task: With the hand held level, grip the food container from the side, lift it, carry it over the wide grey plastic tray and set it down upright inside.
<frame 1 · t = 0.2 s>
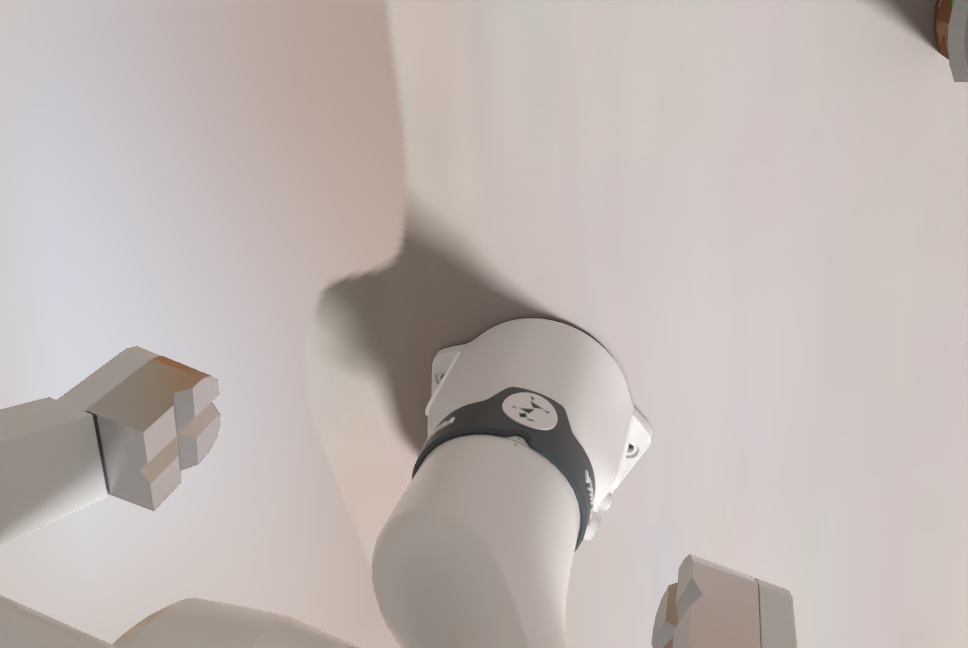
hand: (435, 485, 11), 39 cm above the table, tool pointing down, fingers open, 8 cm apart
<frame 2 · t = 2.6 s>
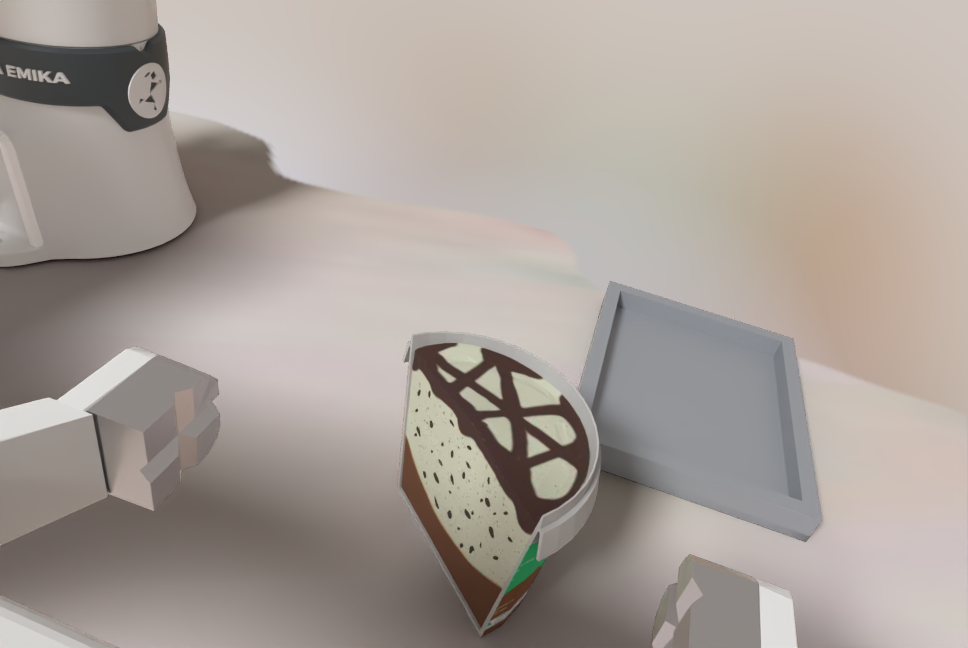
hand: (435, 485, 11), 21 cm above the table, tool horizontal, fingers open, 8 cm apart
tray: (686, 399, 48), on the table
food container: (486, 538, 36), on the table
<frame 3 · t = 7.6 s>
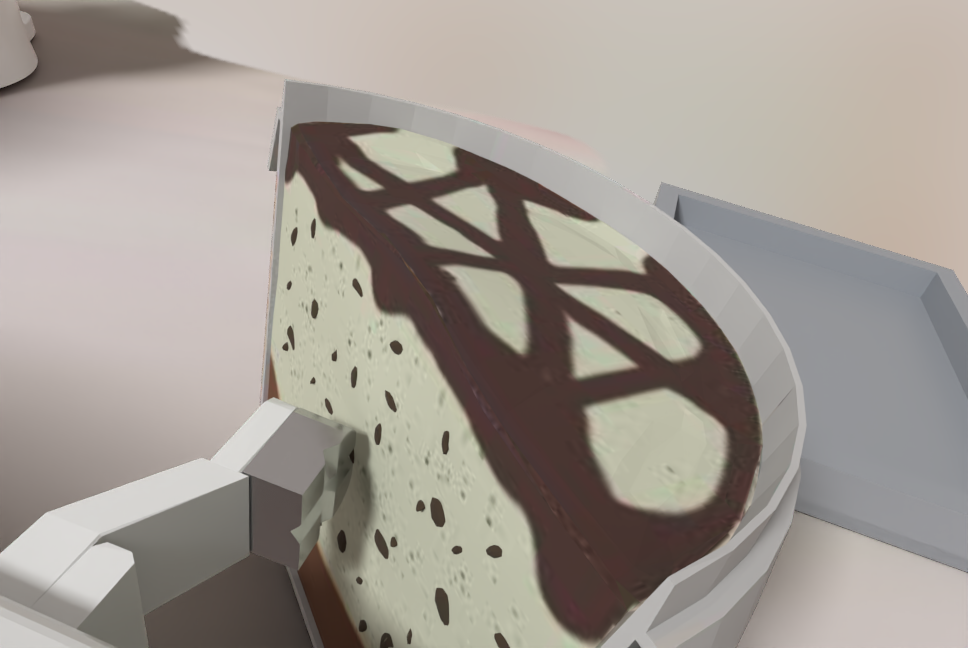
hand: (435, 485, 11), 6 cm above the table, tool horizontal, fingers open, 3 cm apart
tray: (799, 353, 29), on the table
food container: (434, 599, 16), on the table, touching gripper
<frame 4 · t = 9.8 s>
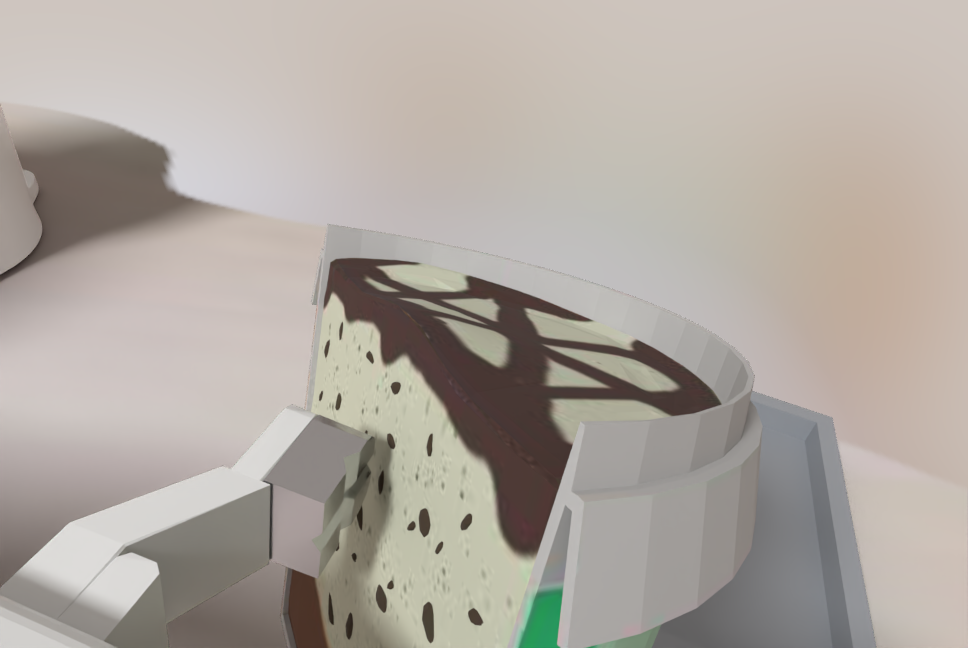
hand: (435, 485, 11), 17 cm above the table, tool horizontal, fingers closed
tray: (685, 513, 34), on the table
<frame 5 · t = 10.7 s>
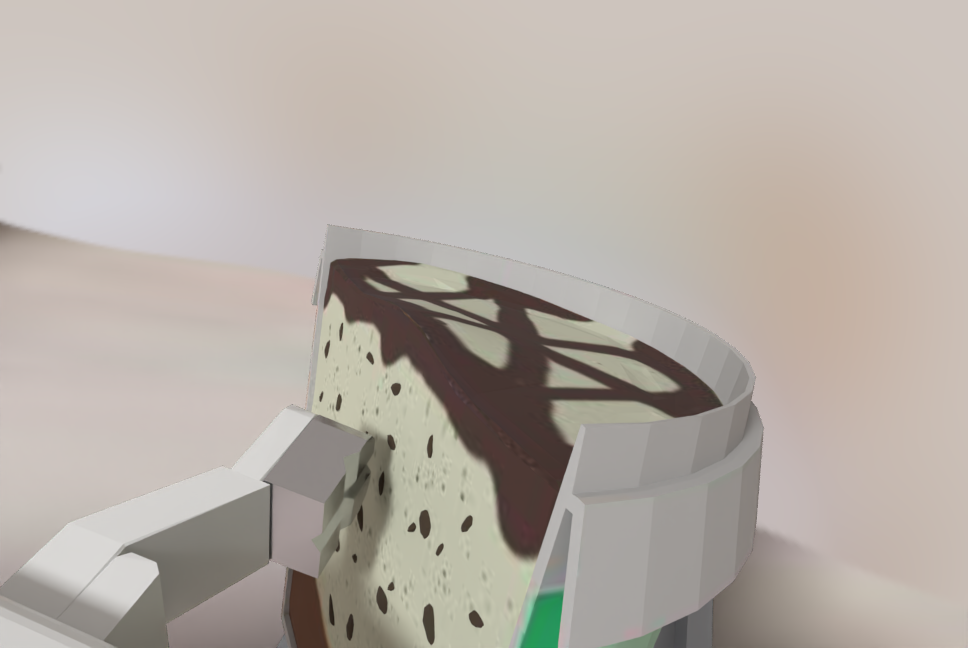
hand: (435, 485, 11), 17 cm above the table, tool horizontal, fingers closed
tray: (511, 627, 28), on the table
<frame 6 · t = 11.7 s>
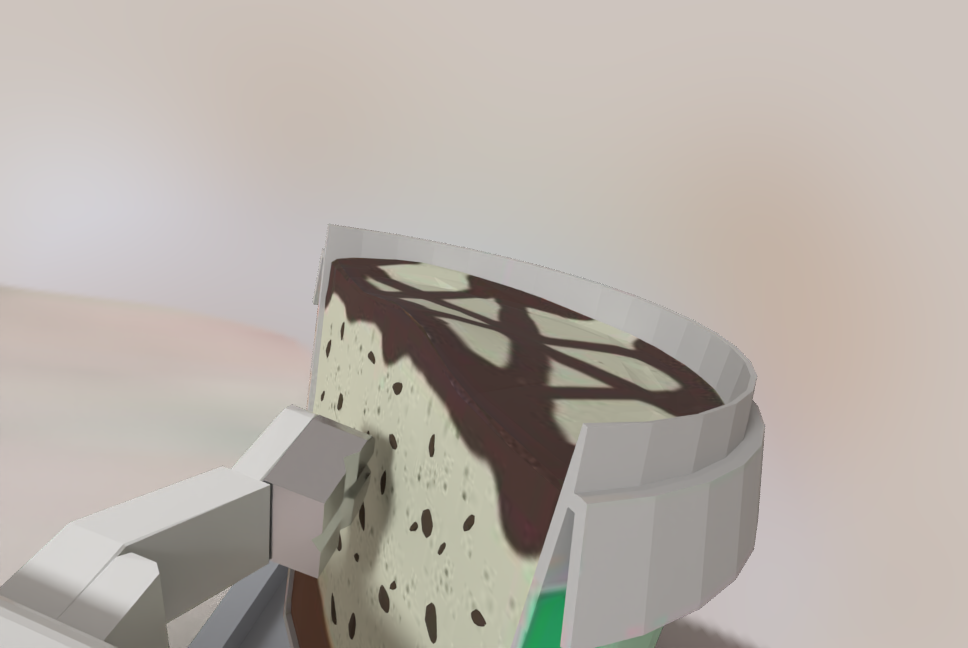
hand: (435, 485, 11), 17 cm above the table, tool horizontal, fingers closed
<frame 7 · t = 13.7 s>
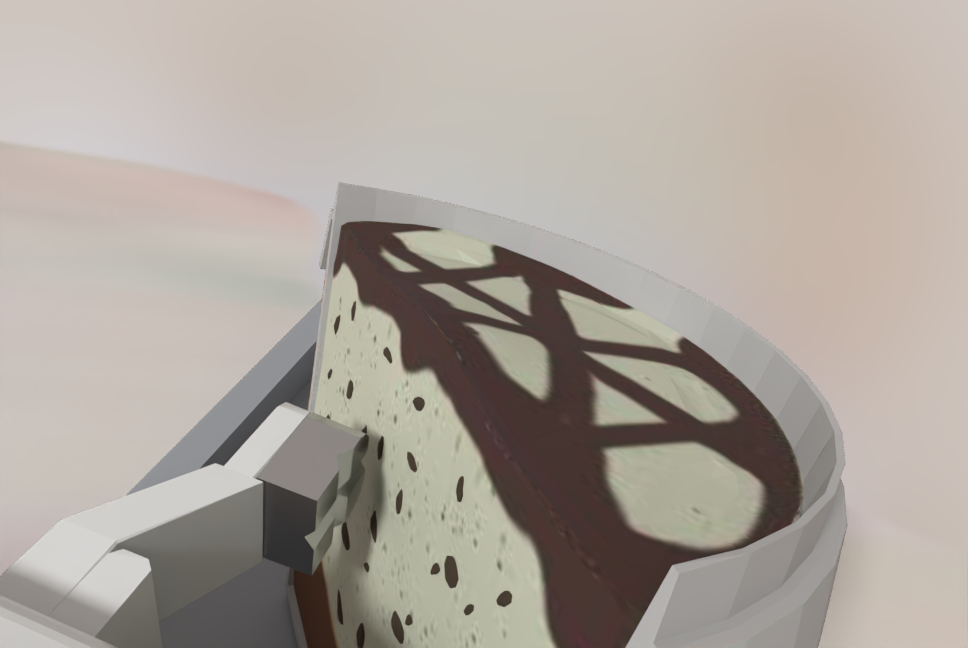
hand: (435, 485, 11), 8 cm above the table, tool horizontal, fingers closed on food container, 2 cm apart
tray: (414, 620, 18), on the table
when the fingers open (8 cm above the table, at t = 14.4 s): food container moves 1 cm, resting on tray.
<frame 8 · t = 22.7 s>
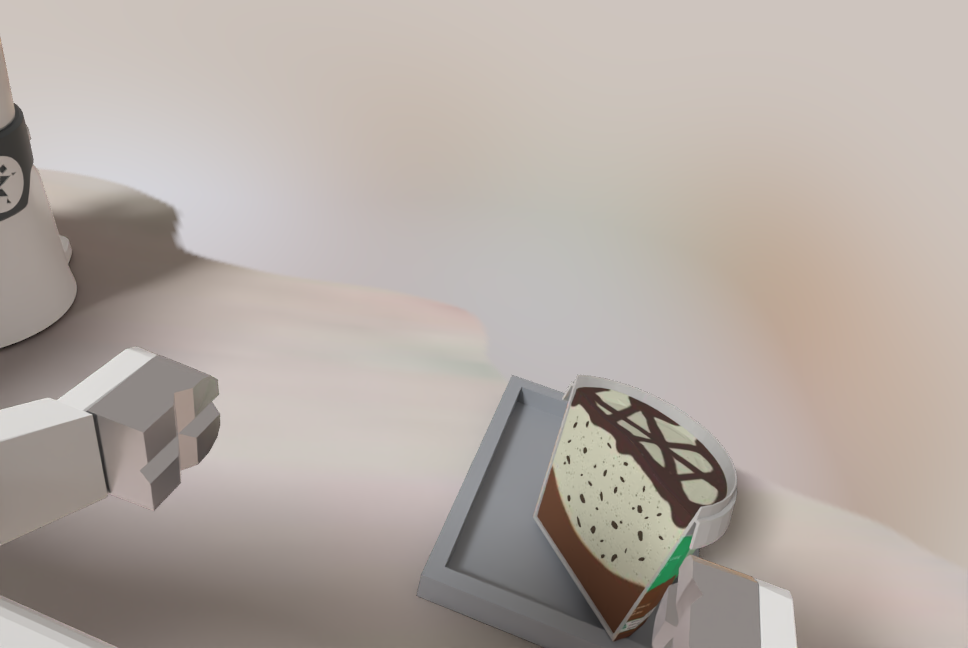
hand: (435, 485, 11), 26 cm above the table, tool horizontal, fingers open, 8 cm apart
tray: (576, 518, 45), on the table
food container: (609, 570, 41), point 1 cm above the table, touching tray
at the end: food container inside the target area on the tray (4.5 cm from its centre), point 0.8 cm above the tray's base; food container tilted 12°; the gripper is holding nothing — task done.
